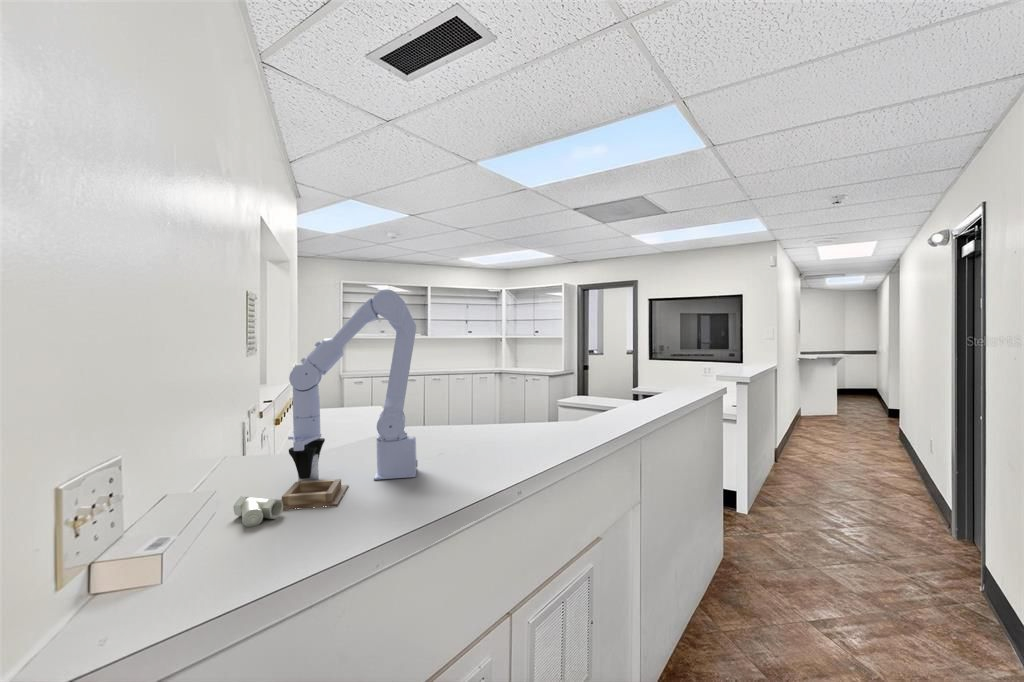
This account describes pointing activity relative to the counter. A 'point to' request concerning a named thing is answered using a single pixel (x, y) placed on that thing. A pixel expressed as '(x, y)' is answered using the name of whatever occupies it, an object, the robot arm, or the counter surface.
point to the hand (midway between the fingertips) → (308, 474)
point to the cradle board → (314, 494)
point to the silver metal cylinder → (313, 470)
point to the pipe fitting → (257, 509)
